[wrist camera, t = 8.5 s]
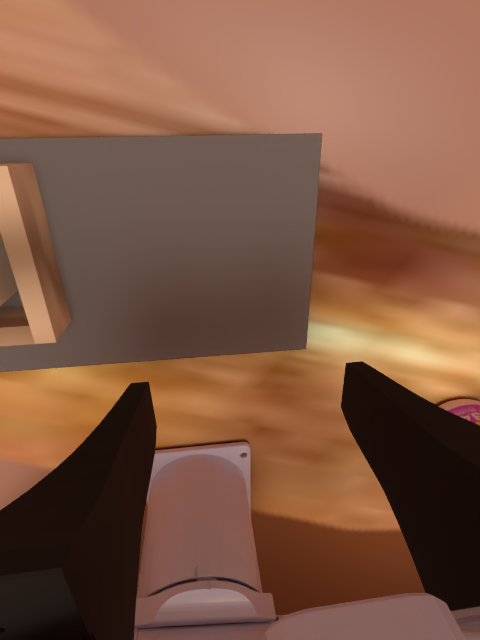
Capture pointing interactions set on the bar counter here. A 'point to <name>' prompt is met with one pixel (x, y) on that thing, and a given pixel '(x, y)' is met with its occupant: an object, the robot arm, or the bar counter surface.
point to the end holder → (30, 262)
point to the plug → (6, 275)
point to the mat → (174, 244)
